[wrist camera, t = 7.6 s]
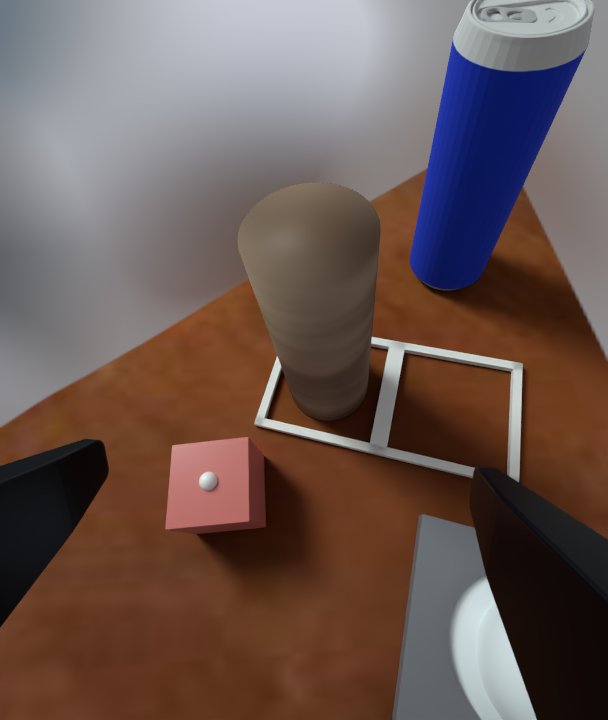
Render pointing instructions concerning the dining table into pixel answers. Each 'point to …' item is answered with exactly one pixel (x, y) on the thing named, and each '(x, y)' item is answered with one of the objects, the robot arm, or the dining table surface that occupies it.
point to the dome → (485, 657)
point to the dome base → (435, 621)
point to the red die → (216, 487)
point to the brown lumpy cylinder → (316, 290)
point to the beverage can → (492, 127)
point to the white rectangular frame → (388, 401)
